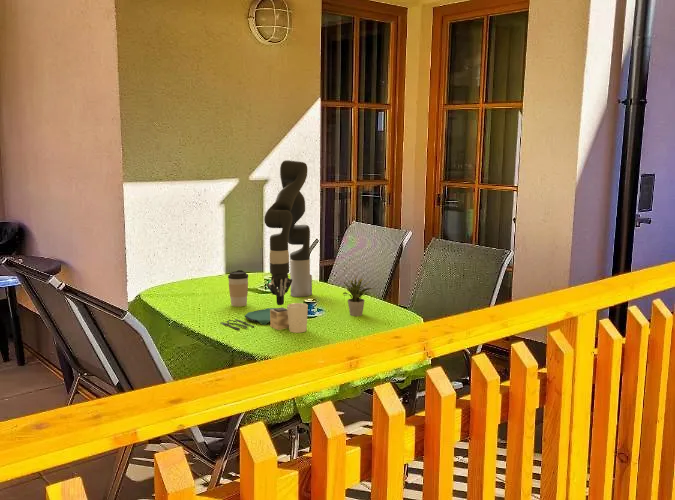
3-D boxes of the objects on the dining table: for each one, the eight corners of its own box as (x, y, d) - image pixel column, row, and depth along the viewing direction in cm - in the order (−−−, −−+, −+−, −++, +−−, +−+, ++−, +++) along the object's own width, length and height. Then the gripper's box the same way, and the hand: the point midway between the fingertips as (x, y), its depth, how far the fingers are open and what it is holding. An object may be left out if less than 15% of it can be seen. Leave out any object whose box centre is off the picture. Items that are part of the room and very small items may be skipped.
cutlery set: (303, 319, 287) (303, 313, 286) (239, 333, 269) (239, 327, 268) (277, 310, 302) (276, 305, 302) (215, 323, 284) (214, 318, 284)
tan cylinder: (287, 328, 274) (287, 303, 272) (307, 327, 274) (307, 302, 273) (287, 333, 266) (287, 308, 264) (308, 333, 266) (308, 307, 265)
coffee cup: (245, 307, 306) (244, 273, 304) (225, 306, 308) (224, 273, 306) (251, 302, 315) (251, 270, 313) (232, 301, 317) (231, 269, 315)
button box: (283, 324, 279) (283, 307, 278) (291, 327, 274) (291, 310, 273) (270, 326, 276) (270, 309, 275) (277, 330, 271) (277, 312, 270)
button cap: (282, 313, 277) (282, 307, 276) (286, 315, 274) (286, 309, 273) (274, 314, 275) (274, 308, 274) (278, 316, 272) (278, 310, 271)
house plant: (346, 321, 283) (346, 281, 280) (331, 313, 295) (331, 275, 292) (377, 316, 289) (377, 278, 287) (360, 309, 301) (360, 272, 299)
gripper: (283, 257, 278) (283, 300, 281) (260, 262, 268) (261, 306, 270) (297, 259, 274) (298, 302, 277) (275, 264, 263) (276, 309, 266)
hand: (280, 304), depth 274 cm, fingers closed
